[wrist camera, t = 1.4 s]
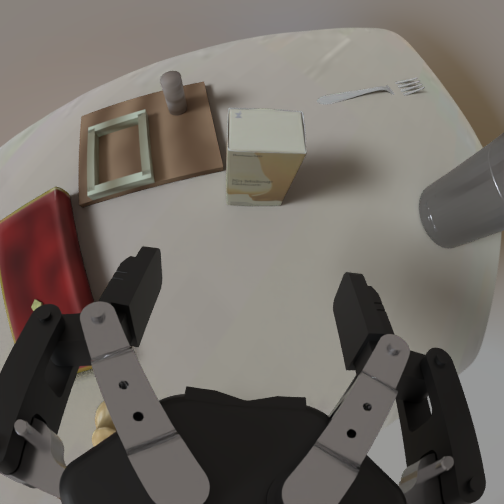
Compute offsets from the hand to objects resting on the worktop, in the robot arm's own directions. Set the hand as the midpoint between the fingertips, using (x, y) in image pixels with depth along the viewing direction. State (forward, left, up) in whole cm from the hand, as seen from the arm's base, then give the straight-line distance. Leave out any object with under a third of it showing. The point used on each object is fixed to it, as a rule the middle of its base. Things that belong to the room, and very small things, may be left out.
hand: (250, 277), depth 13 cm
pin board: (+8, -21, -19) cm, 29 cm away
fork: (-25, -24, -19) cm, 40 cm away
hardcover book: (+23, -5, -19) cm, 30 cm away
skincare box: (-4, -11, -19) cm, 22 cm away
